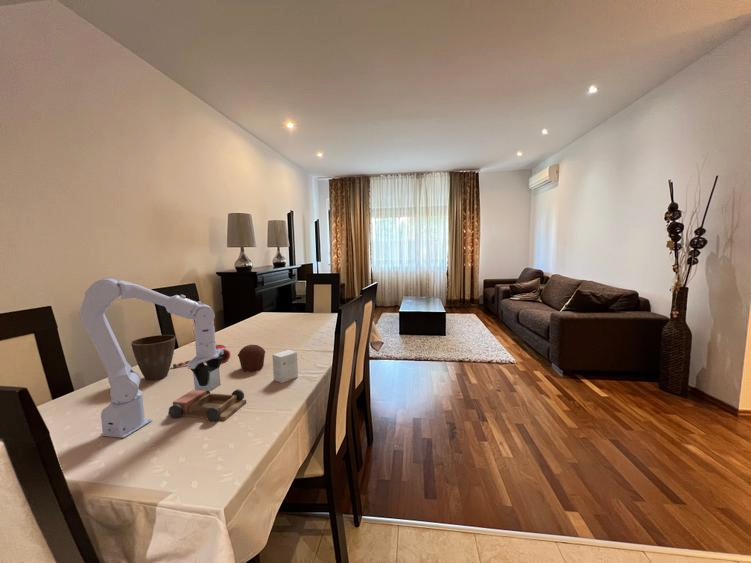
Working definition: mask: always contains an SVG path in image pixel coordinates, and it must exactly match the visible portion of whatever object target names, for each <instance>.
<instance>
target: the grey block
mask: <svg viewBox="0 0 751 563" xmlns="http://www.w3.org/2000/svg"><path fill="white" fill-rule="evenodd" d="M192 373H193V372H192ZM192 376H193V383H194V386H193V387H194V390H203V391H210V392H211V391H213V390H215V389H216V388H218V387H220V386H221V385H222V384H221V374H220V367H219V368H216V367H209V369H208V373H207V385H206V386H200V385H199V383H198V380H197V378H196V376H195V374H194V373H193V374H192Z"/></svg>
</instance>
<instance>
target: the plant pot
mask: <svg viewBox="0 0 751 563" xmlns="http://www.w3.org/2000/svg"><path fill="white" fill-rule="evenodd" d="M176 339H177V338H176V335H173V334H157V335H149V336H145V337H141V338H137V339H134V340H132V341H131V342H130V344H131V349H132V352H133V355H134V358H135V361H136V364H137V365H138V368H139V370H140V372H141V374H142V376H143V377H144V379H145V380H146V381H148V380H149V381H150V380H153V381H158V379H159V380H162V379H165V378H167V377H168V375H169V372H170V368H171V366H172V363H173V362H172V361H173V357H174V353H175V346H176ZM164 377H165V378H164ZM149 381H148V382H149ZM150 382H151V381H150Z"/></svg>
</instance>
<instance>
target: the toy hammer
mask: <svg viewBox="0 0 751 563" xmlns="http://www.w3.org/2000/svg"><path fill="white" fill-rule="evenodd" d="M218 348H223V352H224V354H222V355H219V356H220V357H223V360H222V362H221V363H225V362H228V361H229V360H230V358H231V355H232V354H231V351H230V350H229V349H227V348H226V346H225V345H224V344H222V343H217V344H216V349H218ZM191 360H192V359H190V360H186V361H183V362H179V363H174V364H172V366H173V369H177V368H178V367H182V366H186V365H187V363H188V362H190V361H191ZM224 361H225V362H224ZM176 367H177V368H176Z"/></svg>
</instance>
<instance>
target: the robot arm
mask: <svg viewBox="0 0 751 563" xmlns="http://www.w3.org/2000/svg"><path fill="white" fill-rule="evenodd" d="M118 297H120V300H126V299H137V300H138V299H139V300H142V301H145V302H147V303H151V304H155V305H158V306H161V307H164V308H165V309H166V312H167V313H169V314H172V315H175V316H178V317H181V318H183V319H188V320H194V342H195V354H196V355H195V356H194V357H193V358H192V359H190V360H191V361H190V362H188V363H187V364H186V365H187V369H188V370H190V371H192V373H194V374H195V376H196V378H197V380H198V383H199V385H200V386H206V385H207V373H208V369H209V367H216V368H219V369H220V367H221V364H222V363H223V362H222V360H223V357H220V356H219V355H222V354H224V352H223V348H218V349H216V331H215V325H214V324H215V321H214V320H215V318H216V314H215V311H214V310H213V308H212V307H211V306H209V304H206V303H202V301H195V300H193V299H190V298H186V297H187V295H184V294H179V295H178V294H175V295H173V296H168V295H165V294H164V293H160V292H158V291H155V290H153V289H151V288H147V287H145V286H142V285H139V284H137V283H134V282H130V281H126V280H119V279H117V278H115V277H105V278H101V279H98V280H95V281H94V282H93V283H92V284H91V285H90V286H89V288H87V289H86V290H85V291H84V296H83V300H82V303H81V305H80V306H81V307H80V309H79V318H80V320H81V322H82V324H83V326H84V328H85V330H86V332H87V335H88V336H89V338H90V340H91V342H92V344H93V346H94V348H95V350H96V352H97V354H98V357H99V358H100V361H101V363H102V364H103V366H104V369H105V371H106V373H107V381H108V383H109V386H110V391H109V396H110V398H111V399H110V400H111V401H110V403H108V405H107V406H106V407H105V408H103V409H102V411H101V413H100V419H101V430H102V432H100V437H111V438H120V439H123V438H124V439H125V438H127V437H128V436H130V435H131V434H133V433H134V432H136V431H137V430H139V429H141V428H142V427H145V426H146V425H148V424H149V423H151V422H152V421H153V418H147V417H146V416H145V405H144V396H143V395H144V394H143V391H141V390H140V389H139V386H140V384H141V381H142V380H141V379H142V378H141V375H140V373H138V372H137V371H135V370H134V369H133V368H132V366H131V364H130V363H129V362H128V361H127V359H126V357H125V355H124V352H123V351H122V348H121V345H120V344H119V342H118V339H117V337H116V335H115V334H114V331H113V329H112V328H111V327H112V326H111V325H110V322H109V321H108V320H109V319H107V316H106V315H105V313H106V312H107V310H108V308H110V306H111V304H112V303H113V302H114V301H115V300H116V299H118ZM205 363H206V364H205Z"/></svg>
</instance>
